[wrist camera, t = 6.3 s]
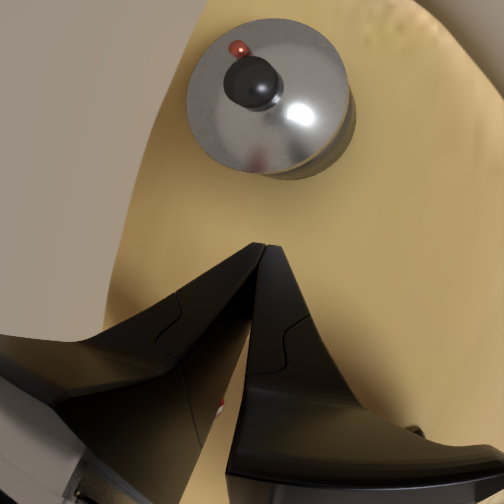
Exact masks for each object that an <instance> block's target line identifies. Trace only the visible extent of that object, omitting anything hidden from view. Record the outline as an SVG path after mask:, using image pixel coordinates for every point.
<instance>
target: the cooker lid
mask: <svg viewBox="0 0 504 504" xmlns="http://www.w3.org/2000/svg"><path fill="white" fill-rule="evenodd" d="M348 104H349V83H348V77H347V74H346V71H345V68H344V65H343V62H342V60H341V58H340V56H339V54H338V52H337V51H336V49H335V48H334V46H333V45H332V44H331V43H330V42H329V41H328V40H327V39H326V38H325V37H324V36H323V35H322V34H320V33H319V32H318V31H316V30H315V29H313V28H311V27H309V26H307V25H305V24H302V23H300V22H296V21H292V20H287V19H276V18H271V19H261V20H256V21H252V22H248V23H245V24H243V25H240V26H238V27H236V28H234V29H232V30H230V31H228V32H227V33H225V34H224V35H222V36H221V37H220V38H219V39H217V40H216V41H215V42H214V43H213V44H212V45H211V46H210V47H209V48H208V49H207V50H206V51H205V53H204V54H203V55H202V57H201V58H200V60H199V61H198V63H197V65H196V67H195V69H194V71H193V73H192V75H191V78H190V81H189V85H188V90H187V97H186V111H187V117H188V122H189V125H190V128H191V131H192V133H193V135H194V137H195V139H196V140H197V142H198V144H199V145H200V146H201V147H202V149H203V150H204V151H205V152H206V153H207V154H208V155H209V156H210V157H212V158H213V159H214V160H216V161H217V162H219V163H221V164H223V165H225V166H227V167H229V168H232V169H235V170H238V171H243V172H249V173H255V174H274V173H280V172H285V171H289V170H292V169H294V168H297V167H299V166H301V165H303V164H305V163H307V162H309V161H310V160H312V159H313V158H315V157H316V156H318V155H319V154H320V153H321V152H322V151H323V150H325V149H326V148H327V146H328V145H329V144H330V143H331V142H332V141H333V139H334V138H335V136H336V135H337V133H338V132H339V130H340V128H341V126H342V124H343V122H344V120H345V117H346V113H347V110H348Z"/></svg>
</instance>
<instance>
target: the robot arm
mask: <svg viewBox="0 0 504 504" xmlns="http://www.w3.org/2000/svg"><path fill="white" fill-rule="evenodd" d="M250 328H251V331H250ZM249 331H250V339H249V348H248V356H247V365H246V373H245V382H244V390H243V396H242V402H241V406H240V410H239V415H238V419H237V423H236V428H235V432H234V436H233V441H232V445H231V449H230V453H229V458H228V462H227V467H226V472H225V475H226V483H227V489H228V496H229V503H230V504H477V503H478V502H480V501H482V500H484V499H486V498H488V497H490V496H492V495H493V494H495V493H497V492H499V491H501V490H502V489H504V453H503V452H501V451H500V450H498V449H496V448H495V447H493V446H491V445H485V444H483V445H471V446H447V445H442V444H439V443H435V442H432V441H430V440H427V439H426V438H425V436H424V433H423V432H422V431H419V430H418V431H414V432H410V431H408V430H406V429H404V428H402V427H400V426H398V425H396V424H394V423H392V422H390V421H388V420H386V419H385V418H383V417H381V416H379V415H377V414H375V413H373V412H371V411H370V410H368V409H367V408H366V407H365V406H364V405H363V404H362V403H361V402H360V401H359V400H358V398H357V397H356V396H355V394H354V393H353V391H352V389H351V388H350V386H349V385H348V383H347V381H346V380H345V378H344V376H343V375H342V373H341V371H340V370H339V368H338V366H337V365H336V363H335V362H334V360H333V358H332V357H331V355H330V353H329V351H328V350H327V348H326V346H325V344H324V343H323V341H322V339H321V337H320V335H319V332H318V330H317V328H316V326H315V323H314V321H313V319H312V317H311V314H310V312H309V309H308V307H307V305H306V302H305V300H304V298H303V295H302V293H301V291H300V288H299V286H298V284H297V281H296V279H295V277H294V274H293V272H292V270H291V267H290V265H289V263H288V260H287V258H286V256H285V253H284V251H283V249H282V247H281V246H276V245H267V246H266V245H265V244H262V243H255V242H252V243H250V244H249V245H247V246H246V247H244V248H243V249H241V250H239V251H238V252H236V253H235V254H233V255H232V256H230V257H228V258H227V259H225V260H224V261H222V262H221V263H219V264H217V265H216V266H214V267H213V268H211V269H210V270H208V271H207V272H205V273H203V274H202V275H200V276H199V277H197V278H196V279H194V280H192V281H191V282H189V283H188V284H186V285H185V286H183V287H182V288H180V289H178V290H177V291H176V292H175V293H172V294H171V295H169V296H167V297H166V298H164V299H163V300H161V301H159V302H158V303H156V304H154V305H153V306H151V307H149V308H148V309H146V310H144V311H142V312H140V313H138V314H137V315H135V316H133V317H131V318H129V319H127V320H125V321H123V322H121V323H119V324H117V325H115V326H113V327H111V328H109V329H107V330H105V331H103V332H101V333H99V334H97V335H96V336H93V337H91V338H89V339H86V340H82V341H77V342H60V341H50V340H41V339H31V338H24V337H16V336H8V335H2V334H0V504H179V502H180V500H181V498H182V495H183V493H184V491H185V488H186V486H187V484H188V481H189V479H190V477H191V474H192V472H193V470H194V467H195V465H196V463H197V460H198V458H199V455H200V453H201V449H202V448H203V446H204V443H205V441H206V438H207V436H208V434H209V431H210V429H211V426H212V424H213V421H214V419H215V417H216V414H217V412H218V409H219V407H220V404H221V402H222V399H223V397H224V394H225V392H226V389H227V387H228V384H229V382H230V379H231V377H232V374H233V372H234V369H235V367H236V364H237V362H238V359H239V357H240V354H241V352H242V349H243V346H244V344H245V341H246V339H247V336H248V334H249Z"/></svg>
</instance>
